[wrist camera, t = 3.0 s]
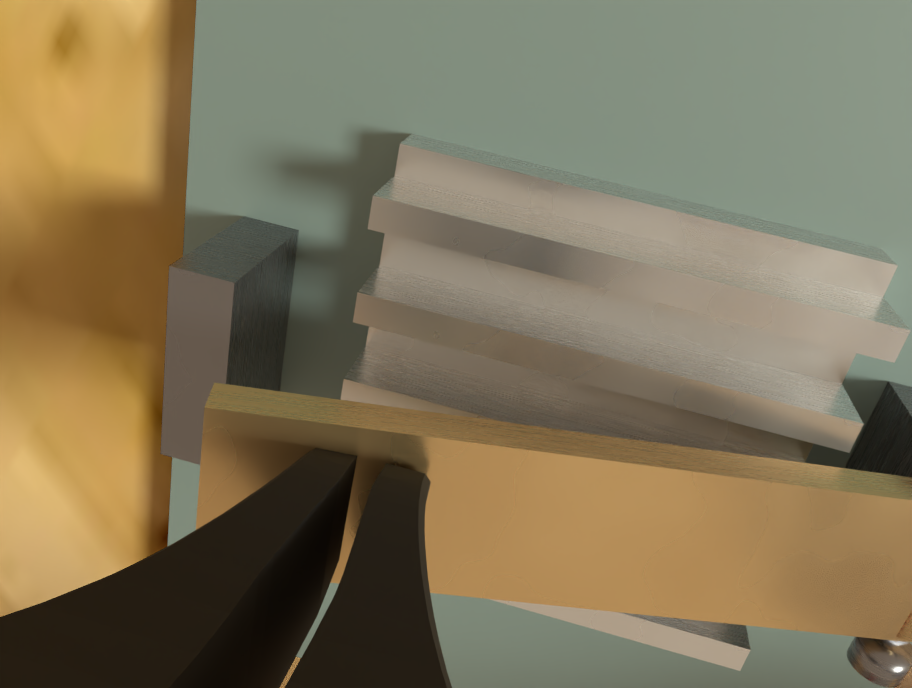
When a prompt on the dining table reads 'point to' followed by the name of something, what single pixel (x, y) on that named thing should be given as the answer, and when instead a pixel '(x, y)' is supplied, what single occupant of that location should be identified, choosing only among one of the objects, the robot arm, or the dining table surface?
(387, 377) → the heat sink
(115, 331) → the dining table surface
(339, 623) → the robot arm
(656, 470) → the strap
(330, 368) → the base board
